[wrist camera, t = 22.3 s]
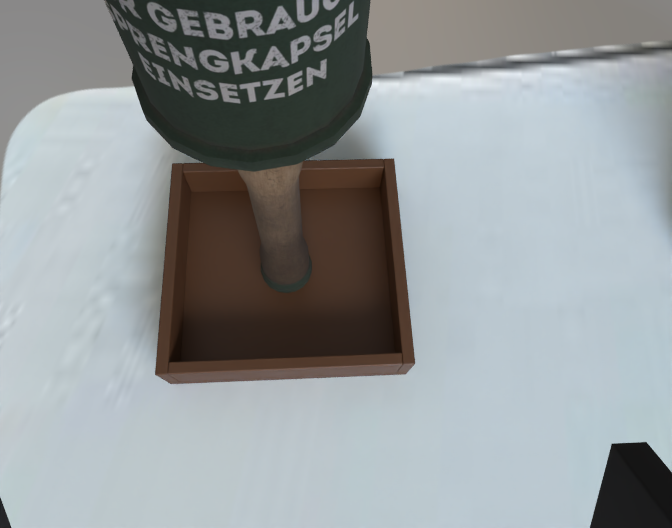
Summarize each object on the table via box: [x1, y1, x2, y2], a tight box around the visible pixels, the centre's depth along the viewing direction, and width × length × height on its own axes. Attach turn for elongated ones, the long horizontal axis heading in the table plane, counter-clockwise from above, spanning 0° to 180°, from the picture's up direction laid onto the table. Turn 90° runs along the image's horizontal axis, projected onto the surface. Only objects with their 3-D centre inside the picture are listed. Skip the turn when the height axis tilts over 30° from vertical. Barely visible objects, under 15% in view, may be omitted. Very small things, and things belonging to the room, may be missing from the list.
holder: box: [155, 159, 415, 384], centre depth 38 cm, size 17×16×4 cm
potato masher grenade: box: [104, 0, 372, 293], centre depth 25 cm, size 8×9×30 cm
